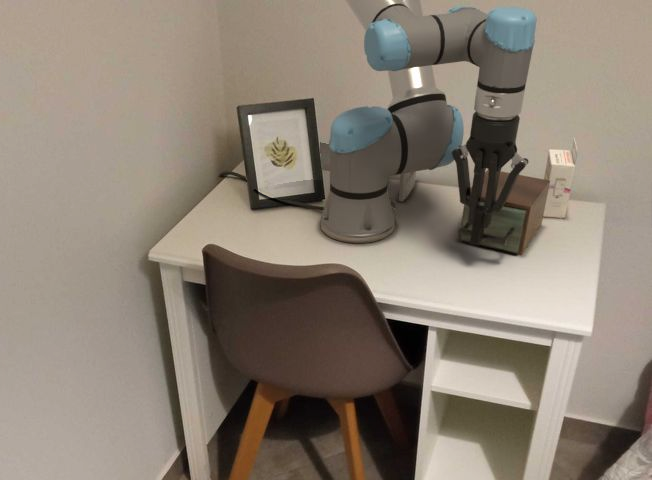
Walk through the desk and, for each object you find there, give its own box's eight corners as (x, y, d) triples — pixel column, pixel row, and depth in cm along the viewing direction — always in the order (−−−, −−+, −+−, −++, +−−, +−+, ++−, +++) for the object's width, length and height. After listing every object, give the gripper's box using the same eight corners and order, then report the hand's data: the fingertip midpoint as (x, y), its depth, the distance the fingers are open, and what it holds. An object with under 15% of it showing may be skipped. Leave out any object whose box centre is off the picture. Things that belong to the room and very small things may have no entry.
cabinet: (521, 255, 136) (530, 207, 130) (459, 240, 141) (465, 193, 135) (541, 226, 146) (550, 180, 140) (481, 214, 151) (488, 168, 145)
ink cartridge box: (538, 199, 156) (550, 134, 147) (561, 201, 155) (575, 135, 146) (540, 217, 149) (554, 149, 140) (565, 218, 148) (580, 150, 139)
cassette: (404, 202, 156) (407, 169, 151) (396, 201, 157) (398, 168, 152) (417, 181, 165) (419, 149, 160) (409, 180, 166) (411, 148, 161)
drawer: (507, 267, 131) (514, 226, 126) (449, 253, 136) (453, 213, 131) (535, 226, 144) (543, 188, 139) (481, 214, 148) (487, 177, 143)
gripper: (450, 113, 115) (435, 241, 130) (529, 127, 110) (504, 259, 124) (466, 100, 120) (449, 224, 135) (542, 113, 115) (517, 241, 130)
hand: (476, 241), depth 130 cm, fingers closed
